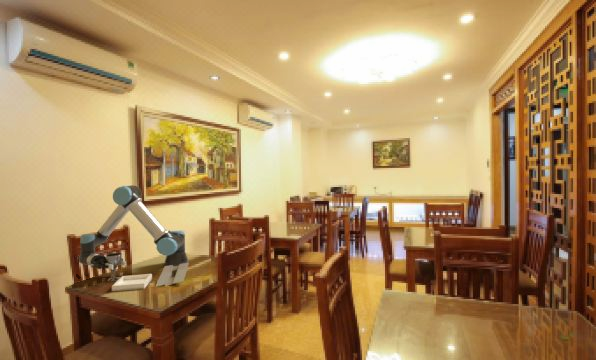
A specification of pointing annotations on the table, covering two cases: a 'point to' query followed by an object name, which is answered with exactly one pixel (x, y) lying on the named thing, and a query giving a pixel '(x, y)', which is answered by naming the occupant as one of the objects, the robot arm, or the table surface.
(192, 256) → the table surface
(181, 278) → the grey display stand
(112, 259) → the silver metal goblet
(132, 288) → the tray
